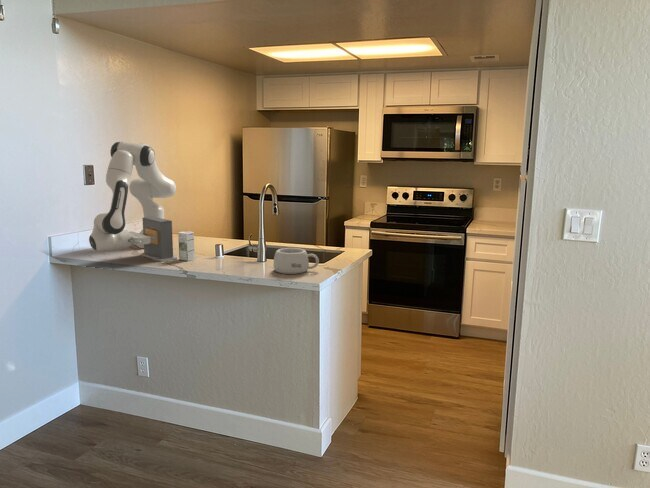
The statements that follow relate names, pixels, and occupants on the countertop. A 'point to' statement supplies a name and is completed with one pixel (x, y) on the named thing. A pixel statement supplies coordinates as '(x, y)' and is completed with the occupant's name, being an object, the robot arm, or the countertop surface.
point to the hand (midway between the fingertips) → (150, 236)
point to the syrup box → (186, 246)
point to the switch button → (152, 234)
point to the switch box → (159, 239)
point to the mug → (293, 261)
